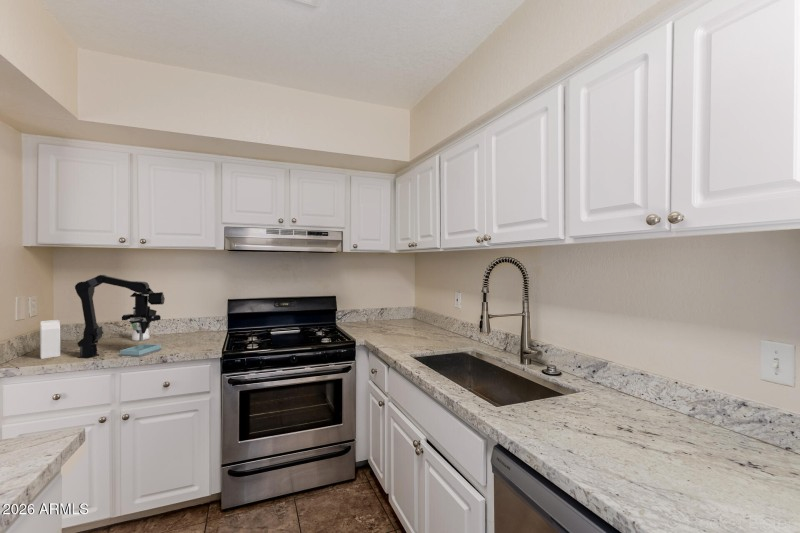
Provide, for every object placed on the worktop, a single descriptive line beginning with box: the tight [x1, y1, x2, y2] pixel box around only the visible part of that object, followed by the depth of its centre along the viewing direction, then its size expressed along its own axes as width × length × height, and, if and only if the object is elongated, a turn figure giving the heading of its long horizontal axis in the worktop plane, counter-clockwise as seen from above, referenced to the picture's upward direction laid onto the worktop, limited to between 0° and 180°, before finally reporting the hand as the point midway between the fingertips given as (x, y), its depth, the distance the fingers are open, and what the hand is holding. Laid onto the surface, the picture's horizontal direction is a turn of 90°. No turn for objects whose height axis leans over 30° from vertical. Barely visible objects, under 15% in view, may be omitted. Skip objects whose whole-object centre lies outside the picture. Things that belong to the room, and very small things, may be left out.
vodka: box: [131, 293, 150, 342], centre depth 230 cm, size 9×9×30 cm
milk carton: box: [39, 319, 61, 360], centre depth 187 cm, size 7×7×19 cm
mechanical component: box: [131, 322, 151, 342], centre depth 196 cm, size 3×10×10 cm, turn 174°
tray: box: [119, 343, 162, 358], centre depth 196 cm, size 11×15×3 cm
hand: (141, 333), depth 196 cm, fingers closed on mechanical component, 3 cm apart
